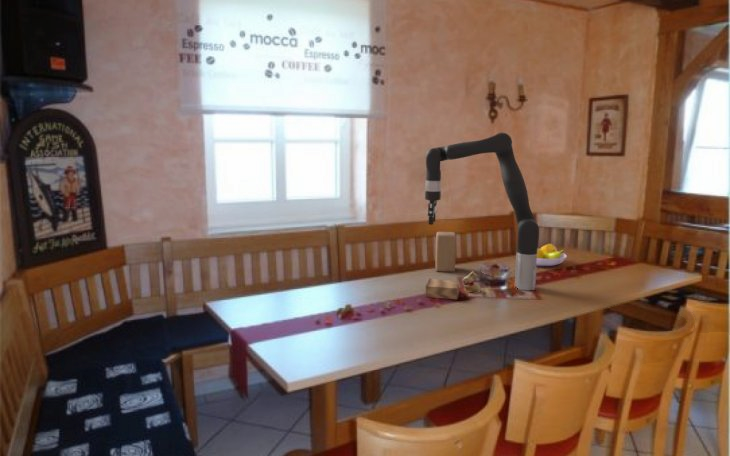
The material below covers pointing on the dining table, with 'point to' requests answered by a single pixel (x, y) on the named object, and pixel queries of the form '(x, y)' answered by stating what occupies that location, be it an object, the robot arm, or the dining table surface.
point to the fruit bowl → (549, 256)
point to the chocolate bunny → (471, 283)
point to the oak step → (442, 289)
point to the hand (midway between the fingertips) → (432, 223)
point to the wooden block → (445, 251)
